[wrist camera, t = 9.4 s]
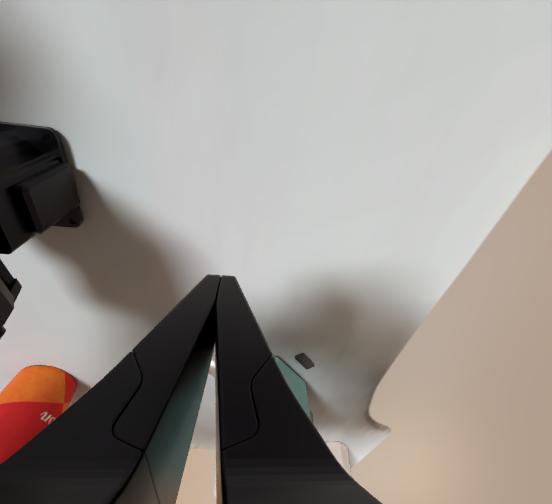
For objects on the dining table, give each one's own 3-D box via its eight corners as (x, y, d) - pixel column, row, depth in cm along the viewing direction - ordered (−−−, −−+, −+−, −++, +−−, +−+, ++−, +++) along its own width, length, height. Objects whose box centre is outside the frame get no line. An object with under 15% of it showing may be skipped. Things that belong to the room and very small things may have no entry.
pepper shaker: (343, 438, 42) (368, 543, 32) (349, 452, 44) (373, 553, 35) (308, 445, 42) (322, 550, 33) (316, 459, 45) (331, 559, 36)
